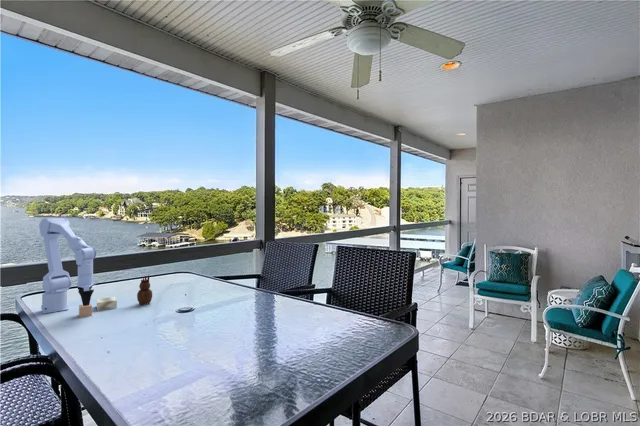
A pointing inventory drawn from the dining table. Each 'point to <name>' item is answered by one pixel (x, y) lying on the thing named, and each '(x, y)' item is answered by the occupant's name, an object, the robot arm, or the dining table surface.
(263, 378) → the dining table surface
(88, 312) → the terracotta cube
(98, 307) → the birch block
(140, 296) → the wooden figurine
